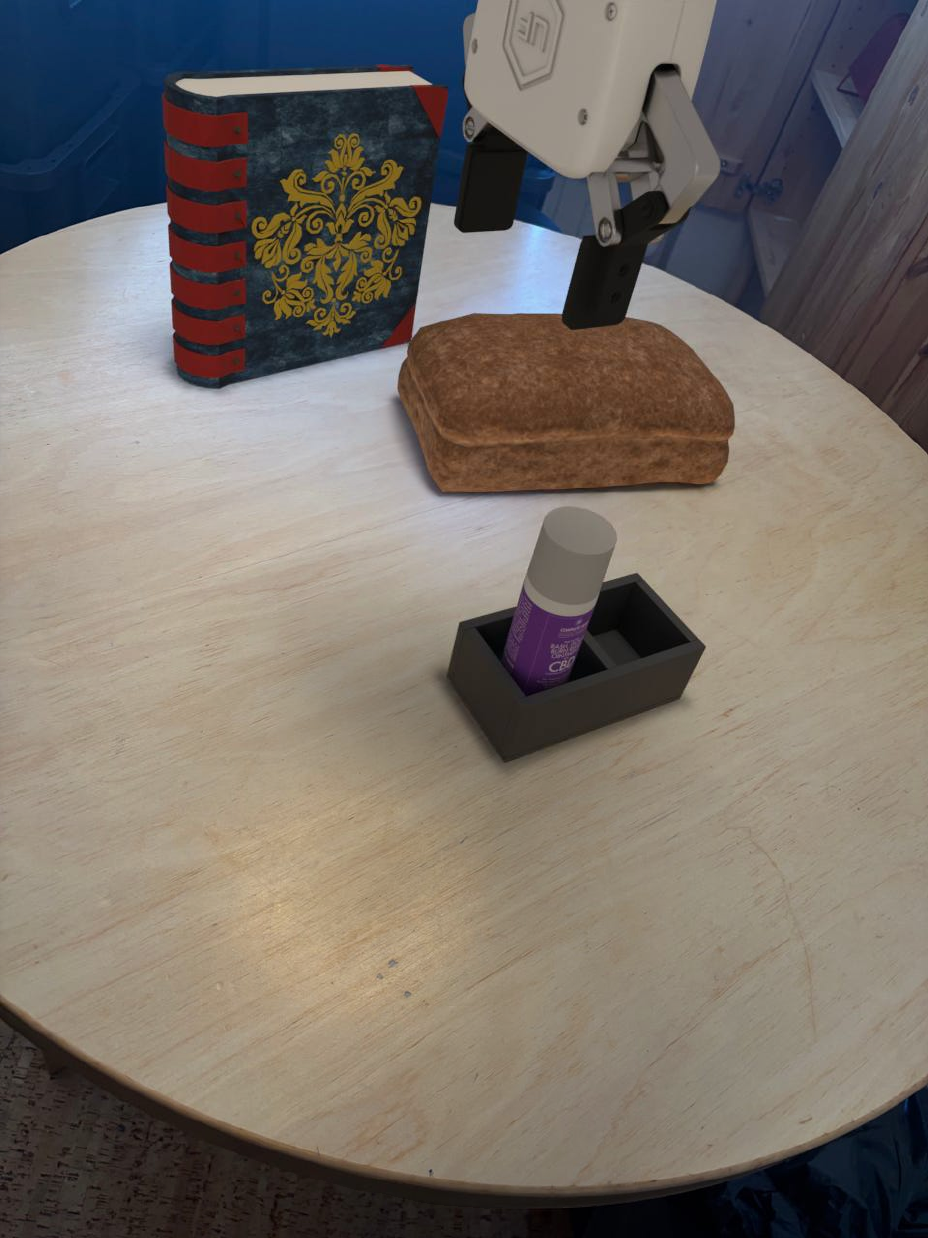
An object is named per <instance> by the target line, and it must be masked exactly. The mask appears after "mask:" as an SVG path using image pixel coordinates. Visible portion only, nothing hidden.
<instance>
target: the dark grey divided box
mask: <svg viewBox="0 0 928 1238" xmlns="http://www.w3.org/2000/svg"><path fill="white" fill-rule="evenodd" d="M516 607H517V605H516V606H512V607H508V608H504V609H502V610H498V611H495V612H491V613H488V614H483V615H480V616H477V617H472V618H469V619H466V620H462V621H459V622H458V626H457V630H456V634H455V639H454V643H453V648H452V651H451V656H450V660H449V664H448V668H447V672H446V679H447V680H448V681H449V682H450V685H451V687H453V689H454V691H455V692H456V693H457V695H458V696H459V698H460V699H461V701H462V702H463V704H464V705H465V706H466V708H467V709H468V711H469V712H470V713H471V715H472V716H473V718H474V719H475V721H476V722H477V724H478V725H479V727H480V729H481V730H482V731H483V733H484V734H485V736H486V738H487V739H488V740H489V741H490V743H491V744H492V746H493V747H494V749H495V750H496V752H497V753H498V755H499V756H500V758H501V759H502V760H503V762H504V763H507V762H509V761H512V760H516V759H517V758H521V757H523V756H526V755H529V754H532V753H534V752H537V751H539V750H543V749H545V748H548V747H550V746H551V747H552V746H553V745H557V744H559V743H561V742H564V741H567V740H569V739H573V738H575V737H577V736H580V735H583V734H586V733H589V732H591V731H594V730H597V729H600V728H603V727H605V726H608V725H612V724H614V723H616V722H619V721H622V720H625V719H627V718H630V717H632V716H635V715H638V714H640V713H641V714H642V713H643V712H646V711H649V710H652V709H654V708H657V707H660V706H662V705H666V704H668V703H671V702H674V701H676V700H679V699H681V698H682V697H683V693H684V691H686V690H685V689H686V688H687V686H688V684H689V682H690V680H691V678H692V676H693V674H694V673H695V670H696V669H697V666H698V664H699V662H700V660H701V658H702V656H703V654H704V652H705V650H706V648H707V646H706V645H705V643H704V642H702V640H701V639H699V637H698V636H697V635H696V634H695V633H694V632H693V631H692V630H691V629H690V628H689V626H688V625H687V624H686V623H685V622H684V621H683V620H682V619H681V618H680V617H679V616H678V614H676V613H675V611H674V610H673V609H672V608H671V607H670V605H669V604H667V603H666V602H665V601H664V599H663V598H662V597H661V596H660V595H659V594H658V593H657V592H656V591H655V590H654V589H653V588H652V587H651V585H650V584H649V583H648V582H646V580H645V579H644V578H643V577H642V576H641V575H640V574H639V573H638V572H635V573H631V574H628V575H623V576H620V577H617V578H613V579H609V580H606V581H603V583H602V586H601V589H600V593H599V596H598V599H597V602H596V605H595V608H594V610H593V613H592V616H591V618H590V621H589V624H588V627H587V629H586V632H585V635H584V637H583V640H582V643H581V645H580V648H579V651H578V654H577V656H576V659H575V662H574V664H573V667H572V670H571V672H570V675H569V678H568V681H567V683H566V684H563V685H560V686H557V687H554V688H551V689H548V690H545V691H542V692H539V693H536V694H533V695H530V696H527V697H526V696H525V695H524V693H523V692H522V690H521V689H520V688H519V686H518V685H517V684H516V682H515V681H514V680H513V678H512V677H511V676H510V674H509V673H508V671H507V670H506V669H505V667H504V666H503V665H502V663H501V659H502V655H503V652H504V648H505V645H506V641H507V638H508V635H509V631H510V628H511V624H512V621H513V617H514V614H515V610H516Z"/></svg>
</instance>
